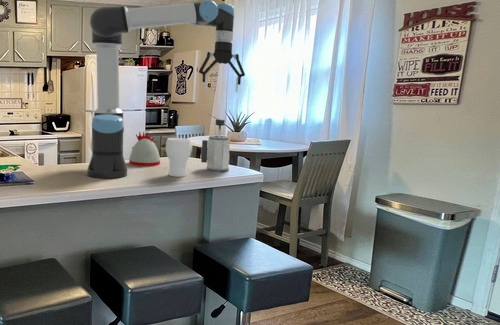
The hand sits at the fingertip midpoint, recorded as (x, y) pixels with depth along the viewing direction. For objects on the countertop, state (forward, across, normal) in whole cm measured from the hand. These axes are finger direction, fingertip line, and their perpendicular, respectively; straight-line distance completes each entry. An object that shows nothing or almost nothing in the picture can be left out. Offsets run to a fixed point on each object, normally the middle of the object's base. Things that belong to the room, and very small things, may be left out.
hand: (221, 91), depth 196 cm
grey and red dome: (+36, -34, +5) cm, 49 cm away
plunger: (+32, 0, 0) cm, 32 cm away
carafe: (+35, -1, 0) cm, 35 cm away
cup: (+36, -16, -17) cm, 42 cm away
